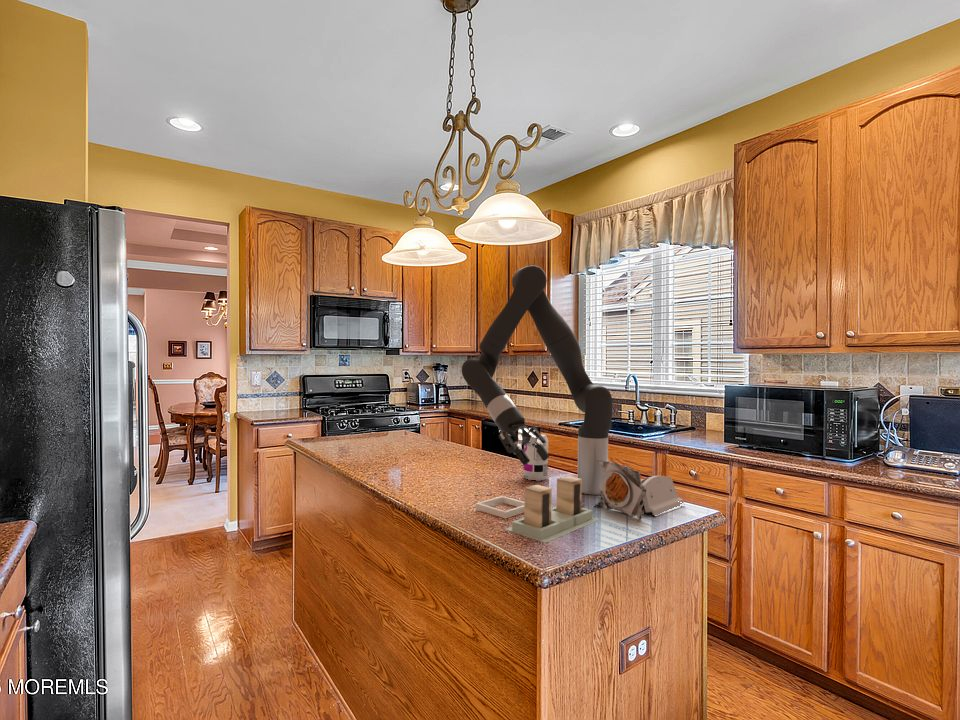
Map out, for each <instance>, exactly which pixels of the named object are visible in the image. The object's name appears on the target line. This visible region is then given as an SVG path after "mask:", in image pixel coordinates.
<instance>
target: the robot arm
mask: <svg viewBox="0 0 960 720" xmlns="http://www.w3.org/2000/svg"><path fill="white" fill-rule="evenodd" d="M547 281H548V279H547V275H546V272H545V271H544V270H543V269H542V267H540V266H538V265H526V266H524V267H521V268H519V269H517V270H516V271H515V272H514V274H513V275H512V280H511V284H512V285H511V286H512V289H513V290H512V293H511V295H510V297H509V299H508V300H507V302H506V304H505V305H504V307H503V308H502V309H501V311H500V313H499V314H498V315H497V316H496V318H495V319H494V320H493V322H492V323H491V324H490V326H489V328H488V330H487V331H486V333H485V334H484V336H483V338H482V340H480V341H481V342H480V344H479V346H478V348H479V351H480V352H481V353H480V356H479V359H477V358H473V357H472V358H468V359H466V360H465V361H464V362H463V363H462V366H461V375H462V378H463V379H464V381H465V382H466V384H468V386H469V387H470V388H471V389H472V390H473V391H474V392H475V394H477V395H478V397H479V399H480V400H481V402H482V403H483V405H484V406H485V408H486V409H487V411H488V413H489V415H490V417H491V419H492V420H493V421H494V423H495V424H496V426H497V427H498V429H499V431H500V434H499V435H498V438H499V440H500V442H501V443H502V445H503V447H504V448H505V450H506V452H507V453H508V454H512V453H513V455H516V456H517V458H518V460H519V461H520V463H521V464H522V465H523V466H524V465H527V464H528V463H529V461H530V459H529V458H528V456H527V455H526V453H525V452H524V448H522V445H523V446H524V445H528V446H529V447H530V446H531V447H533V448H534V449H536V451H537V453H538V454H539V455H540V457H541V458H542V460H543V461H545V460H547V459H548V460H549V458H550V454H549V452H548V453H547V451H546V450H545V448H544V447H543V444H544V443H545V442H546V441H545V439H544V438H543V437H542V435H541V434H542V433H540V431H539V430H538V429H537V427H536V426H534V425H532V426H531V427H527V426H526V424H525V423H526V418H525V417H524V415H522V412H521V411H520V410H519V408H518V407H517V406H516V404H515V403H514V402H513V400H512V399H511V398H510V397H509V396H508V394H507V392H506V391H505V390H504V389H503V387H502V386H501V385H500V384H499V382H497V381H496V380H495V379H494V378H493V377H494V376H495V373H496V370H497V366H498V363H499V359H500V356H501V355H502V353H503V351H504V350H505V348H506V346H507V344H508V343H509V341H510V339H511V337H512V336H513V334H514V333H515V330H516V328H517V327H518V326H519V323H520V322H521V320H522V319H523V317H524V315H525V314H526V313H527V311H528V313H529V314H530V317H531V318H532V320H533V323H534V325H535V328H536V329H537V332H538V333H539V335H540V337H541V339H542V341H543V343H544V346H545V347H546V349H547V350H548V352H549V354H550V356H551V358H552V359H553V361H554V362H555V365H556V367H557V368H558V370H559V372H560V373H561V374H562V376H563V378H564V380H565V383H566V385H567V388H568V389H569V392H570V394H571V397H572V400H573V402H574V403H575V406H576V408H578V409H579V411H581V412H583V413H584V418H583V423H582V424H581V425H580V426H579V427H578V430H577V435H578V437H577V477H576V478H579V479H582V494H585V495H594V496H596V495H599V496H600V495H601V494H600V491H601V490H600V489H599V486H600V483H601V481H602V477H603V476H604V472H603V470H602V469H601V466H600V465H599V464H598V462H597V460H601V461H606V462H611V461H610V460H609V432H610V430H611V427H612V420H613V419H612V416H613V398H612V394H611V392H610V391H609V389H608V388H606V387H604V386H602V385H595V384H594V383H593V382H592V380H591V379H590V377H589V375H588V374H587V372H586V370H585V367H584V365H583V360H582V350H581V347H580V344H579V342H578V339H577V337H576V336H575V333H574V331H573V330H572V329H571V327H570V325H569V323H568V322H567V321H566V320H565V319H564V317H563V316H562V315H561V313H560V312H558V311H557V309H555V307H554V306H553V304H552V303H551V302H550V298H548V296H547V293H546V291H545V288H546V286H547ZM531 438H532V440H531V441H530V439H531ZM538 438H539V439H540V440H541V441H540V440H538ZM534 442H535V443H536V444H537V445H535V444H534ZM509 445H510V446H509Z"/></svg>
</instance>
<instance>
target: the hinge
mask: <svg viewBox="0 0 960 720" xmlns="http://www.w3.org/2000/svg"><path fill="white" fill-rule="evenodd" d="M641 482H642V484H643V485H644V487H645V488H646V494H645V498H644V502H645V503H644V505H643V506H642V511H643V510H644V513H647V514H648V513H652V516H653V515H654V516H655V515H658V514H660V513H662V512H664V511H667V510H669V509H672V508H674V507H677V506H680V504H682V503H684V504H685V502H684V500H683V499H682V498H681V497H679V495H678V492H677V490H676V486H675V484H674V481H673V479H672V478H671V477H669V476H665V475H653V476H648V477H645V478H643V479H641ZM641 490H643V489H642V488H641ZM644 493H645V492H643V493H642V495H644ZM678 501H679V502H678ZM680 502H682V503H680ZM642 504H643V500H641V502H640V505H642Z"/></svg>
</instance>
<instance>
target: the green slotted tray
mask: <svg viewBox="0 0 960 720" xmlns="http://www.w3.org/2000/svg"><path fill="white" fill-rule="evenodd" d="M556 508H557V505H556V506H553V507H551V525H548V526H546V527H543V528H537V527H534V526H530V525H527V524H524V517H521V518H519V519H516V520H513V521H512V522H511V526H509V527H507V528H504V530H506V531H509V532H512V533H514V534H518V535H521V536H524V537H526V538H529V539H533V540H535V541H539V542H541V543H545V544H546V543H548V542H550V541H553V540H555V539H557V538H561V537H562V536H564V535H566V534H567V535H568V534H569V533H572V532H574V531H577V530H579V529H581V528H584V527H586V526H588V525H591V524H593V523H596V522H598V521H601V518H596V517H593V515H594V511H593V510H592V509H588V508H586V507H585V508H583V507H581V513H579V514H577V515H574V516H571V515H567V514H563V513H560V512H556Z"/></svg>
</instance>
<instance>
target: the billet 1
mask: <svg viewBox="0 0 960 720" xmlns="http://www.w3.org/2000/svg"><path fill="white" fill-rule="evenodd" d="M552 491H553V489H552V487H549V486H543V485H539V484H534V485H530V486H527V487H524V501H523V502H524V513H523V518H524V524H527V525H530V526H534V527H537V528H543V527H546V526H548V525H551V508H552V495H553V494H552V493H553V492H552Z"/></svg>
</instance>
